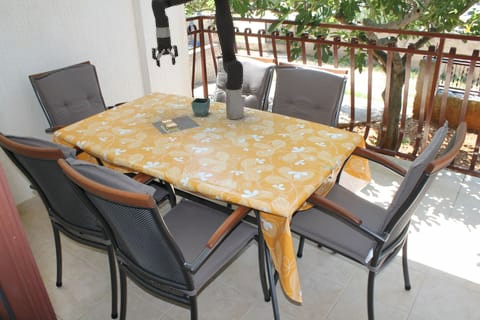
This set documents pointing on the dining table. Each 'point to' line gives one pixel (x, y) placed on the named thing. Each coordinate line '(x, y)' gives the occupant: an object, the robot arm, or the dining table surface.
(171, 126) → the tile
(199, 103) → the flower pot
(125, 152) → the dining table surface
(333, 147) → the dining table surface
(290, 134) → the dining table surface
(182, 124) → the mat
